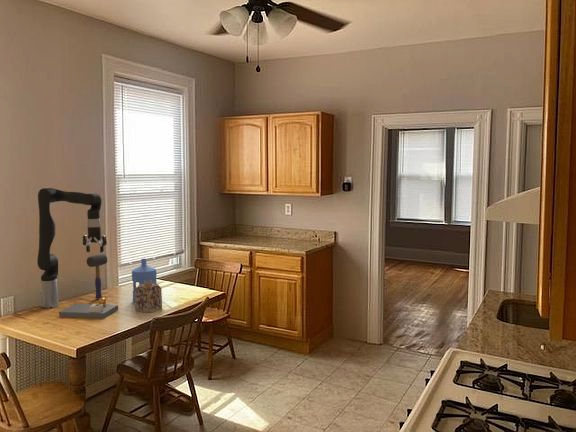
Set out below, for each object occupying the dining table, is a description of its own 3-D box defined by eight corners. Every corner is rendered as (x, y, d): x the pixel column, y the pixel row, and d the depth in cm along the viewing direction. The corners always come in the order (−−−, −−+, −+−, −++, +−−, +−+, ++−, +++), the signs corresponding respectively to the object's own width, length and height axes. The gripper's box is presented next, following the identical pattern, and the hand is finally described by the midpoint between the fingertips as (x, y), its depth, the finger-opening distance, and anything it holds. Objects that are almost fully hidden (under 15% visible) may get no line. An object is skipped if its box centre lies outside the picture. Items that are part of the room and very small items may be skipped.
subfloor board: (59, 316, 298) (58, 311, 298) (75, 308, 316) (75, 303, 315) (103, 318, 294) (103, 313, 294) (118, 309, 312) (118, 305, 312)
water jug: (154, 296, 343) (153, 256, 340) (159, 302, 329) (158, 260, 326) (131, 299, 336) (129, 258, 334) (134, 305, 322) (133, 262, 320)
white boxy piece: (89, 312, 297) (89, 306, 296) (94, 309, 302) (93, 303, 301) (99, 312, 296) (99, 306, 296) (103, 310, 301) (103, 304, 300)
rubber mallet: (95, 302, 331) (93, 256, 328) (87, 300, 334) (85, 255, 331) (110, 297, 342) (108, 253, 339) (102, 296, 345) (100, 253, 342)
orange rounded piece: (97, 312, 308) (97, 299, 307) (101, 310, 311) (101, 297, 311) (103, 312, 307) (103, 299, 306) (107, 310, 311) (107, 297, 310)
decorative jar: (162, 308, 314) (161, 280, 312) (149, 313, 304) (148, 284, 302) (148, 306, 319) (147, 278, 318) (134, 311, 309) (133, 282, 307)
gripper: (79, 226, 305) (81, 253, 306) (102, 226, 303) (103, 253, 305) (86, 225, 312) (87, 251, 314) (108, 225, 310) (109, 251, 312)
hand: (95, 252), depth 309 cm, fingers open, 8 cm apart
